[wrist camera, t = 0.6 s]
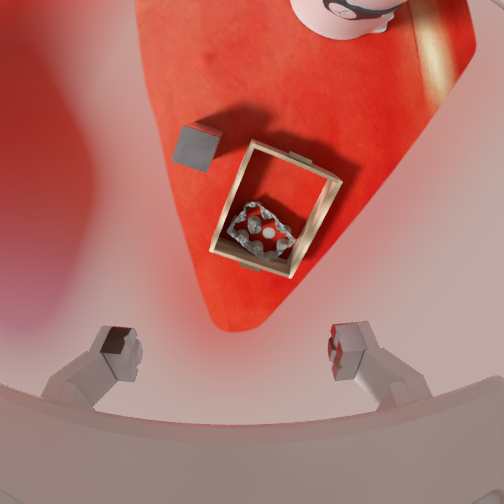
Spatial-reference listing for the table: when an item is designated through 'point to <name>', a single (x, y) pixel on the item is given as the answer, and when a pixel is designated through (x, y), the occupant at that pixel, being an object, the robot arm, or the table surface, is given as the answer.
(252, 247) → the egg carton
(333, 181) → the tote
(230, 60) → the table surface
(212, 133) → the tin
